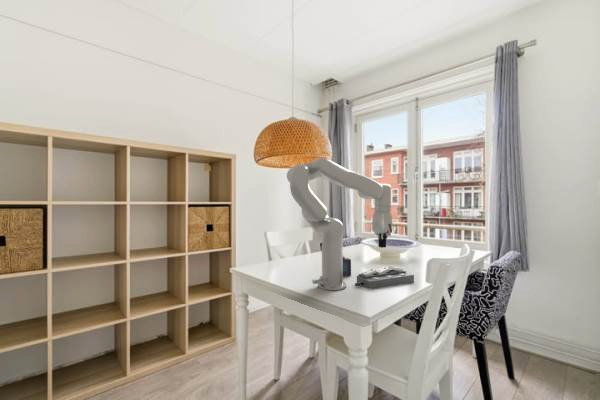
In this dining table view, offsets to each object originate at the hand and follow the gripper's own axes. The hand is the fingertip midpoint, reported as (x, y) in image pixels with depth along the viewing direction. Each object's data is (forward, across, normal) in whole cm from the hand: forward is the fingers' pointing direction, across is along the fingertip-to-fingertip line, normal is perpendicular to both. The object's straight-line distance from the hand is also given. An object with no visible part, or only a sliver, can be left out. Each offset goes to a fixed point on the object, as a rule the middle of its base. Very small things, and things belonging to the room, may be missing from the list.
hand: (382, 247), depth 134 cm
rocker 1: (+12, 0, -8) cm, 14 cm away
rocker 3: (+12, 0, +8) cm, 14 cm away
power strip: (+17, +2, -2) cm, 17 cm away
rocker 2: (+12, 0, 0) cm, 12 cm away
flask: (+17, -17, -12) cm, 27 cm away
